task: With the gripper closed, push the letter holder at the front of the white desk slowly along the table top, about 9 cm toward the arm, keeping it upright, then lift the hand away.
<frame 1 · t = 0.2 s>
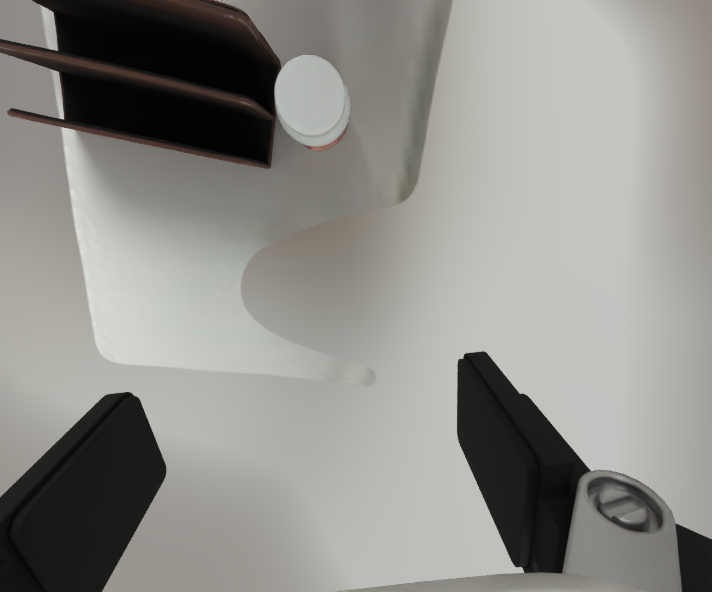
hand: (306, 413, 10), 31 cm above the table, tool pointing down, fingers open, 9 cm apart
letter holder: (176, 96, 34), on the table
pill bottle: (318, 118, 35), on the table
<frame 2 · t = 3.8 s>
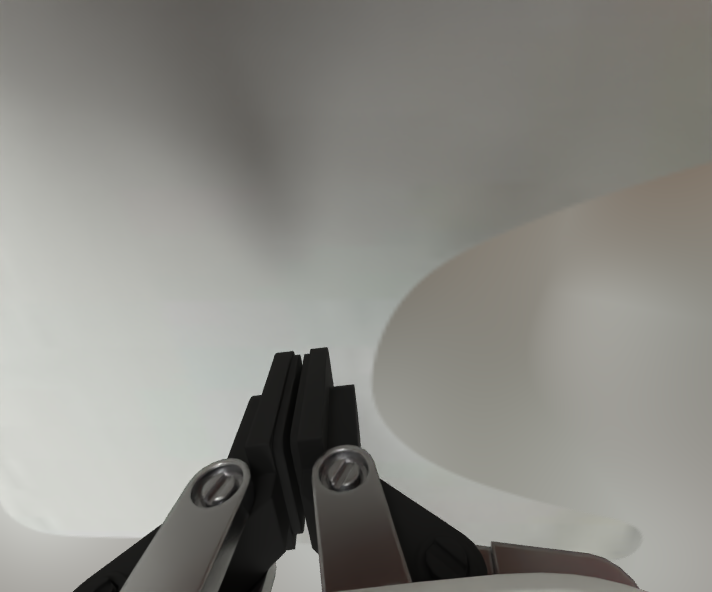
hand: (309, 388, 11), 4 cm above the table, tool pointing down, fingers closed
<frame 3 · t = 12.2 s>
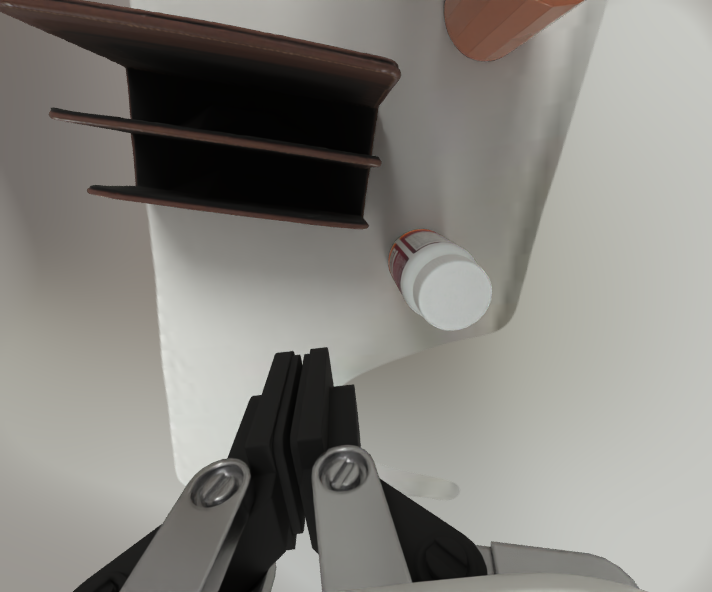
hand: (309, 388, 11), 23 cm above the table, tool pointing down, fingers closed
letter holder: (257, 148, 30), on the table
pill bottle: (417, 258, 34), on the table
pen cup: (490, 6, 27), on the table
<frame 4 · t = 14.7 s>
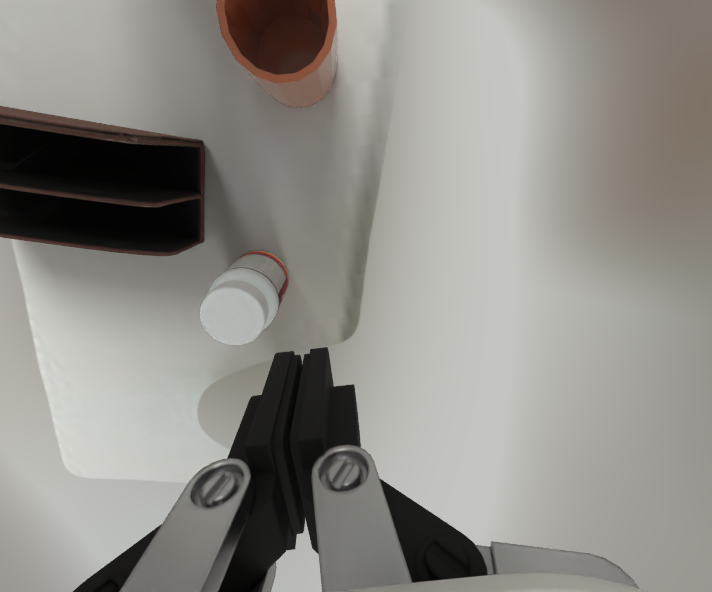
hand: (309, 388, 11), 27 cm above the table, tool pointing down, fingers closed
letter holder: (103, 177, 33), on the table
pill bottle: (262, 275, 38), on the table
pen cup: (295, 61, 31), on the table
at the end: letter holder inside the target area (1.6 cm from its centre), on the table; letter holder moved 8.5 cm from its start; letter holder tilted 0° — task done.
